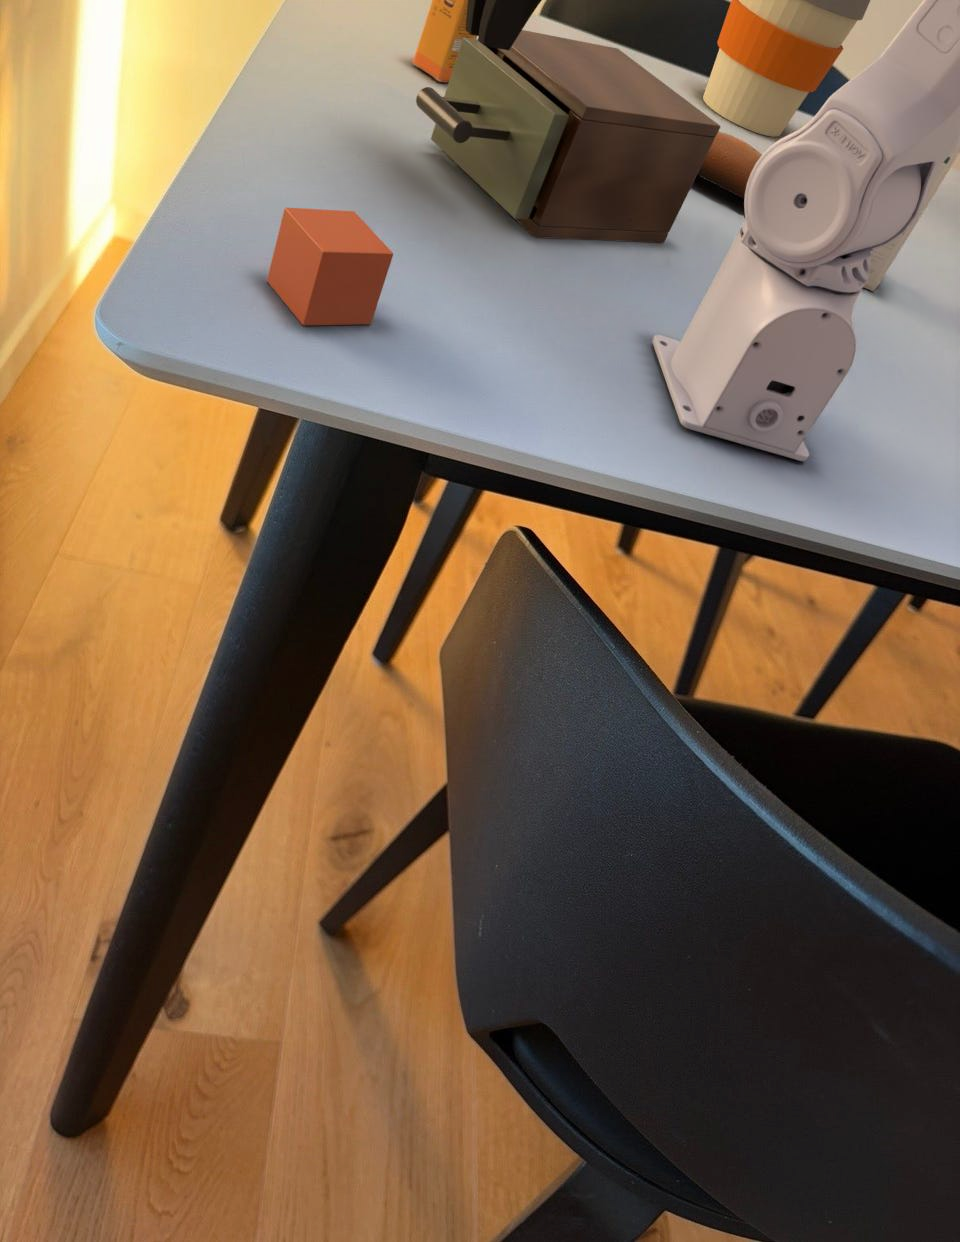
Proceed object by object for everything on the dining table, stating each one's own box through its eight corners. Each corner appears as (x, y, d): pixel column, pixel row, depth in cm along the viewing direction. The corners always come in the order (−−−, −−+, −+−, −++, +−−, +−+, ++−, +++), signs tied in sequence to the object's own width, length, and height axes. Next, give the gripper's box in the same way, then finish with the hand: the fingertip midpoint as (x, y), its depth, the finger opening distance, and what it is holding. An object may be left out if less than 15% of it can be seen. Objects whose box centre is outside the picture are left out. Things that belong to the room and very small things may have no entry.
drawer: (459, 215, 68) (498, 106, 64) (375, 133, 73) (406, 26, 69) (637, 225, 78) (682, 131, 73) (553, 152, 83) (590, 59, 78)
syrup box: (875, 293, 88) (990, 114, 79) (808, 263, 88) (916, 79, 79) (869, 267, 93) (977, 94, 83) (805, 238, 92) (907, 61, 83)
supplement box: (465, 83, 90) (509, -49, 84) (438, 83, 88) (481, -54, 81) (437, 64, 91) (478, -69, 85) (409, 63, 89) (449, -73, 82)
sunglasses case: (775, 191, 97) (805, 135, 91) (745, 248, 94) (773, 195, 88) (593, 99, 98) (610, 37, 92) (558, 153, 95) (574, 94, 89)
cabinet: (534, 237, 72) (587, 106, 67) (441, 149, 77) (483, 21, 72) (664, 243, 80) (721, 126, 74) (571, 162, 85) (617, 48, 80)
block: (371, 324, 56) (394, 253, 54) (303, 326, 54) (323, 251, 51) (333, 281, 58) (354, 210, 56) (266, 280, 56) (284, 206, 53)
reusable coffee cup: (735, 136, 108) (817, -29, 98) (664, 77, 114) (735, -82, 105) (819, 152, 115) (903, 0, 105) (747, 96, 122) (820, -51, 112)
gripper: (443, -296, 59) (372, -23, 67) (605, -202, 52) (503, 89, 60) (541, -256, 63) (462, -4, 72) (703, -164, 56) (594, 103, 65)
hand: (487, 40), depth 66 cm, fingers closed
